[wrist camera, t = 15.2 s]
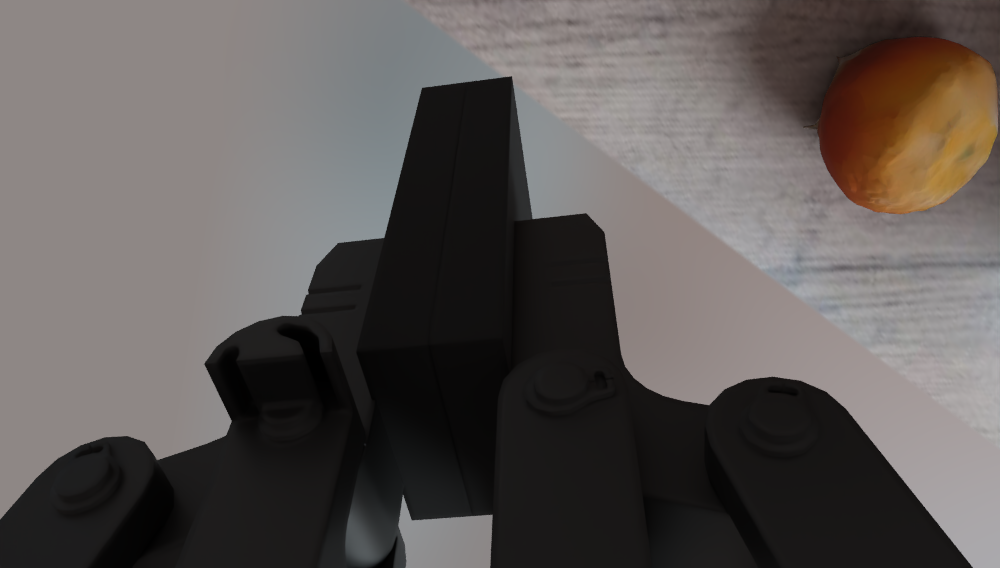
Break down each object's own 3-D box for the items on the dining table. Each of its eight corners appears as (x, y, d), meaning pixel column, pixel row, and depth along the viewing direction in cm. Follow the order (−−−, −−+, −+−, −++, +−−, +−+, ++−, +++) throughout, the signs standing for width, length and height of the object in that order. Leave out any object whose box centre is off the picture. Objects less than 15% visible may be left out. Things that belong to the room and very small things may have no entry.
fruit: (791, 21, 38) (943, 86, 32) (907, -1, 41) (1062, 54, 35) (753, 177, 42) (879, 257, 37) (859, 145, 46) (989, 214, 40)
